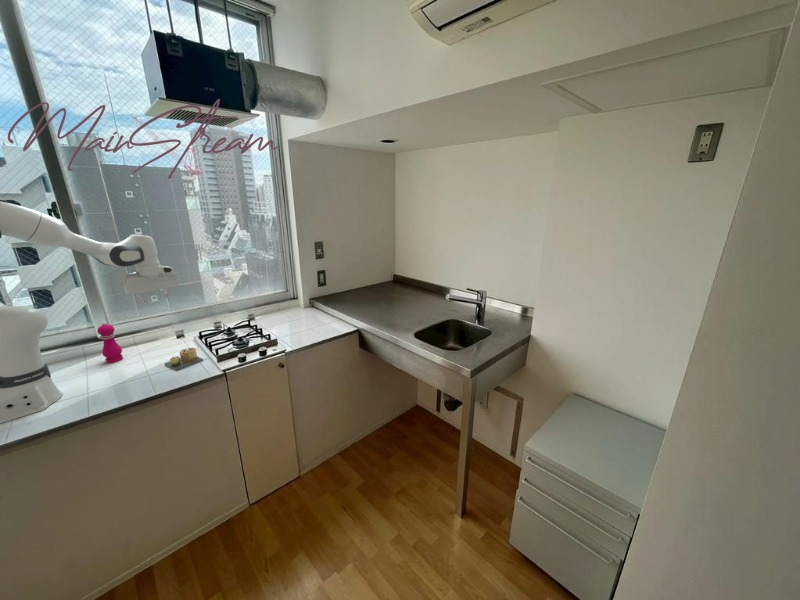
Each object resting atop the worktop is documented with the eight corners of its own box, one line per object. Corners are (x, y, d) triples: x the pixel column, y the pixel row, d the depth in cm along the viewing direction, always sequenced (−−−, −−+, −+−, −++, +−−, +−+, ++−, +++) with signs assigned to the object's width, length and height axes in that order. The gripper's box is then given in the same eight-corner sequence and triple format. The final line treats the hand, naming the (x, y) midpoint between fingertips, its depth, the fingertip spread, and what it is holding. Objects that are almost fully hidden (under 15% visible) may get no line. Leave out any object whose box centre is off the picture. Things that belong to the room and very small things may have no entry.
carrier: (176, 371, 144) (173, 358, 142) (164, 365, 150) (161, 352, 148) (203, 360, 154) (200, 348, 152) (191, 355, 159) (188, 343, 158)
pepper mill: (112, 364, 151) (101, 325, 145) (100, 362, 152) (89, 324, 147) (128, 357, 158) (117, 319, 152) (116, 356, 159) (105, 318, 153)
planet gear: (186, 362, 150) (184, 354, 149) (179, 359, 153) (177, 351, 152) (199, 357, 155) (197, 349, 153) (192, 355, 158) (190, 346, 156)
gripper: (123, 275, 132) (131, 306, 136) (177, 267, 148) (183, 295, 152) (117, 273, 135) (125, 304, 139) (170, 266, 152) (176, 293, 156)
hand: (156, 299), depth 146 cm, fingers open, 8 cm apart
